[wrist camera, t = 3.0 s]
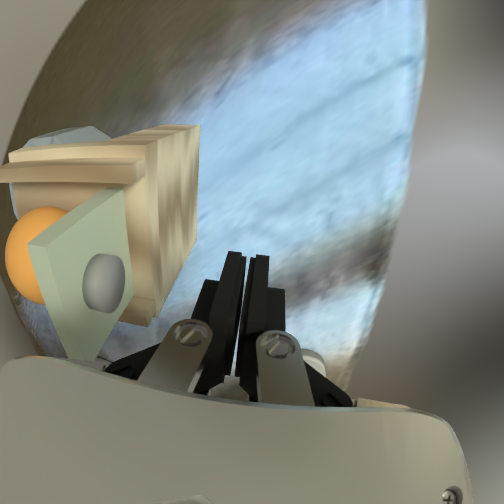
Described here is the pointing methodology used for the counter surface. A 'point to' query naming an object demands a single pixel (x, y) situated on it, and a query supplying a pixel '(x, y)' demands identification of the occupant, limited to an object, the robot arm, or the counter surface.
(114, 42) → the counter surface
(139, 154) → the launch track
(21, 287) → the ball
